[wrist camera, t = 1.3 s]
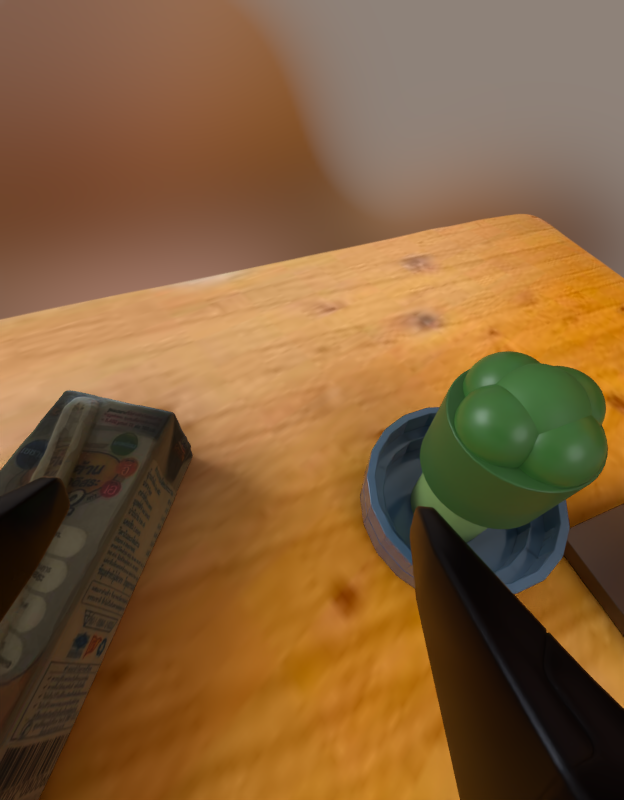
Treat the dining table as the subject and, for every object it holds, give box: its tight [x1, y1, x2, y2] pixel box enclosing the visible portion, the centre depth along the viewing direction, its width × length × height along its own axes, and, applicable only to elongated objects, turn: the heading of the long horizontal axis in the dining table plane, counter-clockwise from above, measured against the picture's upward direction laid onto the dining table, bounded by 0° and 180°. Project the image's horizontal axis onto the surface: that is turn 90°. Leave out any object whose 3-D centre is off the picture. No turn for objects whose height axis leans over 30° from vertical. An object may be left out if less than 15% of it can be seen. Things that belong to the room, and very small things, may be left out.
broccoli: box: [411, 351, 608, 542], centre depth 19 cm, size 7×7×13 cm
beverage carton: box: [0, 391, 193, 800], centre depth 19 cm, size 8×19×7 cm, turn 168°
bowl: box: [360, 407, 570, 594], centre depth 23 cm, size 11×11×4 cm
